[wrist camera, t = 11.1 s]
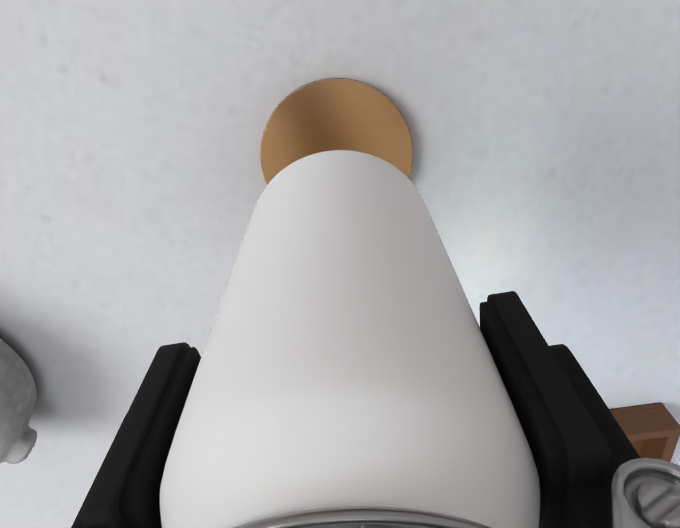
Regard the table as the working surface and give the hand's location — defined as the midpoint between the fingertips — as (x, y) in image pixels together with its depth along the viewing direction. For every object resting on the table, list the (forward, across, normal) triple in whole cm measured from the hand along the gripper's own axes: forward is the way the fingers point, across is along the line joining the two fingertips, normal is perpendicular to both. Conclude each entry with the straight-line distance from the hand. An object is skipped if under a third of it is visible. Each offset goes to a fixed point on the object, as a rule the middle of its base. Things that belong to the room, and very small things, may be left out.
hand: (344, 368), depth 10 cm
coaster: (+15, 0, 0) cm, 15 cm away
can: (+7, 0, 0) cm, 7 cm away
